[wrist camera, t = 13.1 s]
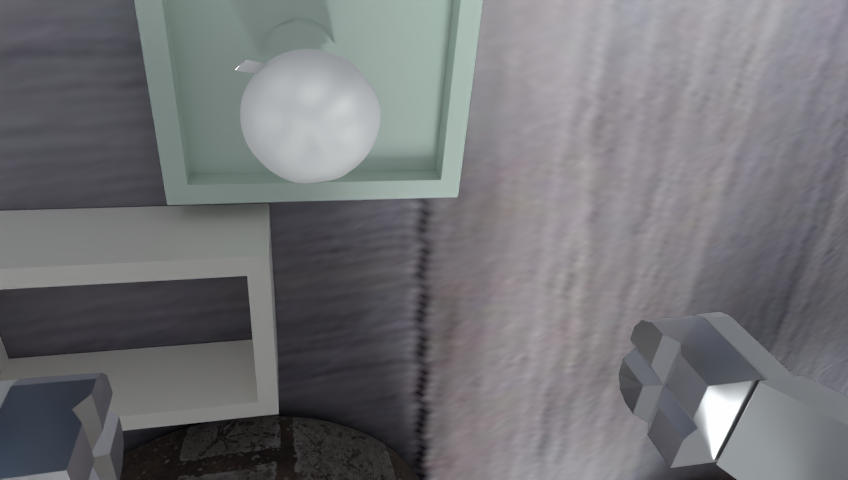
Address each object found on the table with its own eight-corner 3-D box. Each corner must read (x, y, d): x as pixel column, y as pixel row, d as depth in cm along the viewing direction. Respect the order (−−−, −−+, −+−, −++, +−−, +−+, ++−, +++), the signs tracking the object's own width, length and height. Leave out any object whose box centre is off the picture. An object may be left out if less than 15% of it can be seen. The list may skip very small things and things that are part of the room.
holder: (-7, 374, 32) (-49, 449, 28) (-72, 212, 27) (-135, 275, 22) (277, 350, 35) (278, 414, 31) (268, 203, 30) (268, 256, 26)
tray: (172, 187, 28) (167, 205, 27) (119, -159, 21) (107, -161, 20) (449, 181, 32) (457, 197, 30) (484, -121, 24) (498, -120, 23)
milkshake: (290, -39, 24) (301, 8, 16) (372, 63, 27) (418, 148, 19) (209, 34, 25) (180, 116, 16) (298, 125, 28) (310, 233, 19)
